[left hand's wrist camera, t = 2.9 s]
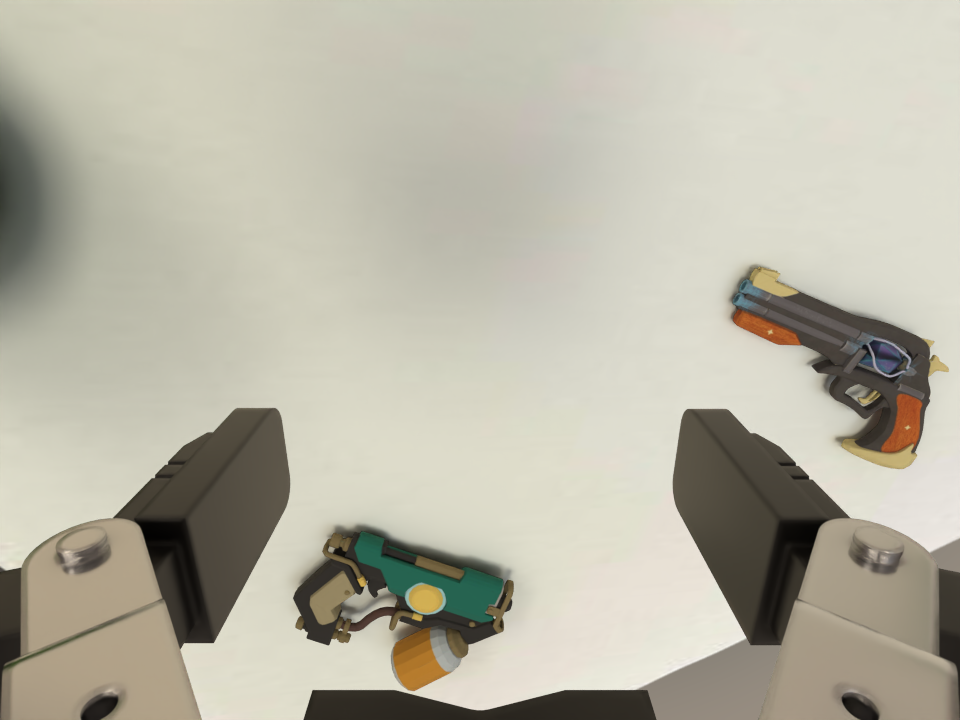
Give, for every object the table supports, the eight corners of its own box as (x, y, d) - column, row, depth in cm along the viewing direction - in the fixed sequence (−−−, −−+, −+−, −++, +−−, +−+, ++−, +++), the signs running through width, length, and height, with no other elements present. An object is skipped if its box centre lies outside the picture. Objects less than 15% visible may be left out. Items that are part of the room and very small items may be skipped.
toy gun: (909, 481, 43) (1012, 375, 38) (685, 389, 41) (764, 268, 37) (890, 460, 45) (984, 358, 41) (677, 372, 44) (751, 257, 39)
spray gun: (281, 595, 51) (372, 477, 47) (432, 684, 53) (530, 580, 49) (262, 630, 47) (360, 504, 43) (427, 726, 49) (533, 615, 45)
